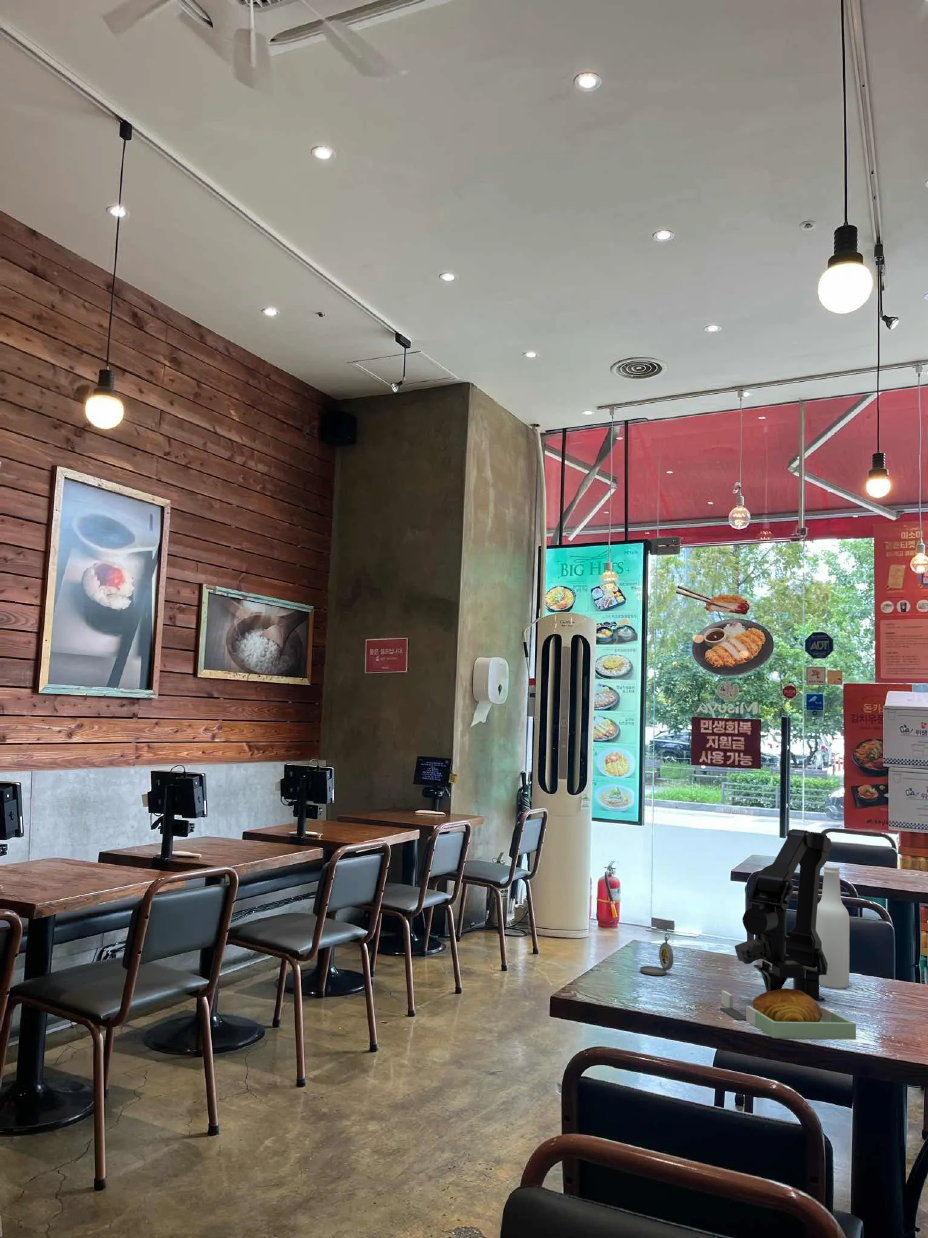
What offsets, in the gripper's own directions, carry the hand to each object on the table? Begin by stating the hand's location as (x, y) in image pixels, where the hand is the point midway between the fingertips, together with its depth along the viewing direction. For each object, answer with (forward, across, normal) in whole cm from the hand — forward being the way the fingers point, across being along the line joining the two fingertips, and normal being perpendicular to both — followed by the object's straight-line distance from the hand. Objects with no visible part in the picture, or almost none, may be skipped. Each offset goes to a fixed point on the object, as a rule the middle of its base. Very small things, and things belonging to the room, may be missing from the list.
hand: (771, 1001), depth 206 cm
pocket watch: (+3, -33, -14) cm, 36 cm away
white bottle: (+3, -25, +30) cm, 39 cm away
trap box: (+2, +6, 0) cm, 7 cm away
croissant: (+3, +7, 0) cm, 8 cm away
